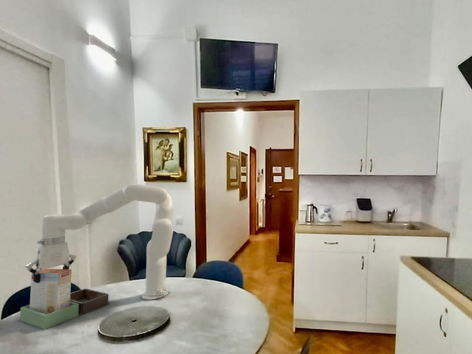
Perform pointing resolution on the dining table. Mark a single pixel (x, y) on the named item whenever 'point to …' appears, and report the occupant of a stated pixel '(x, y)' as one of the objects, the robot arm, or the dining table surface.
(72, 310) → the bin
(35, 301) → the cracker box
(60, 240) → the robot arm
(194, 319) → the dining table surface
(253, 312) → the dining table surface
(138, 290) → the dining table surface
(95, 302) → the crate
